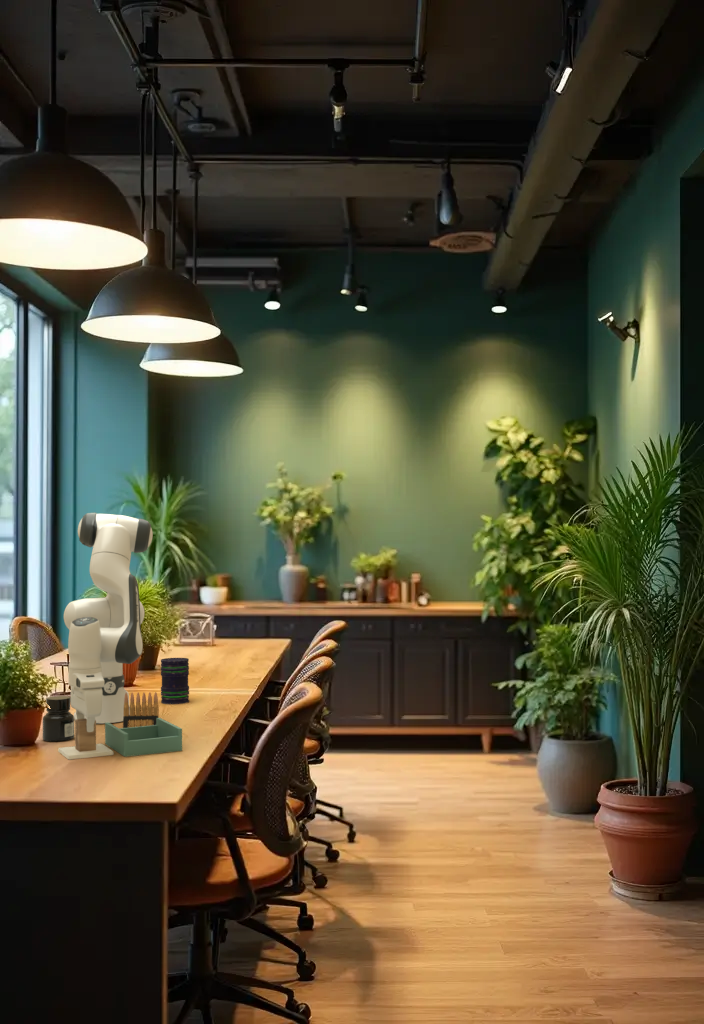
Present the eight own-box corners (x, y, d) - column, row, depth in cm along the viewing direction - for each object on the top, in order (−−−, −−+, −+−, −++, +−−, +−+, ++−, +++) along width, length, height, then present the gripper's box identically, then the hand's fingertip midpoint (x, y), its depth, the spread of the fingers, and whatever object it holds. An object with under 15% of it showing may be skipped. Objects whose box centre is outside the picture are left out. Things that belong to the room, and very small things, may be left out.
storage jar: (191, 699, 388) (191, 657, 388) (186, 704, 378) (186, 661, 378) (163, 699, 388) (163, 657, 388) (158, 704, 378) (157, 661, 378)
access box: (105, 743, 309) (105, 722, 309) (159, 738, 316) (159, 717, 316) (124, 756, 291) (124, 734, 291) (182, 750, 299) (182, 728, 299)
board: (58, 751, 299) (58, 747, 299) (101, 747, 304) (101, 743, 304) (68, 759, 288) (68, 755, 288) (113, 754, 294) (113, 751, 294)
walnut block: (75, 748, 297) (75, 719, 298) (91, 747, 300) (91, 717, 300) (79, 751, 293) (79, 721, 294) (96, 750, 296) (95, 720, 296)
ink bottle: (74, 741, 313) (74, 699, 314) (42, 743, 311) (42, 701, 311) (73, 735, 323) (73, 694, 323) (42, 737, 320) (42, 696, 320)
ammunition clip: (159, 731, 327) (159, 691, 327) (158, 732, 325) (158, 692, 325) (123, 732, 327) (123, 692, 327) (122, 733, 325) (122, 693, 325)
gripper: (64, 674, 304) (65, 723, 304) (82, 683, 286) (82, 736, 286) (87, 672, 307) (87, 721, 307) (106, 681, 289) (106, 733, 289)
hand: (85, 728), depth 296 cm, fingers open, 8 cm apart
